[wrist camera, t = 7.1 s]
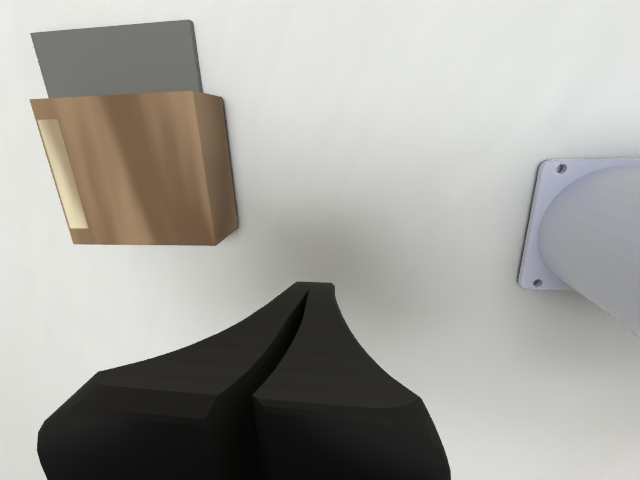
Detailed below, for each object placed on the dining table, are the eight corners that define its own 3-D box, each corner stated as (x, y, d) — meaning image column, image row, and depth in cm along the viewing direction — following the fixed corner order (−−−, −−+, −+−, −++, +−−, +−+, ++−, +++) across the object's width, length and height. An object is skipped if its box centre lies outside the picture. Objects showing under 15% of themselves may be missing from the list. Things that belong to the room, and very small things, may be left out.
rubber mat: (192, 21, 18) (189, 19, 18) (221, 225, 22) (219, 227, 21) (36, 34, 19) (30, 33, 19) (90, 225, 23) (85, 227, 23)
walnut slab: (192, 90, 15) (29, 99, 16) (215, 245, 18) (73, 244, 19) (222, 97, 19) (84, 104, 20) (238, 227, 21) (115, 227, 22)
